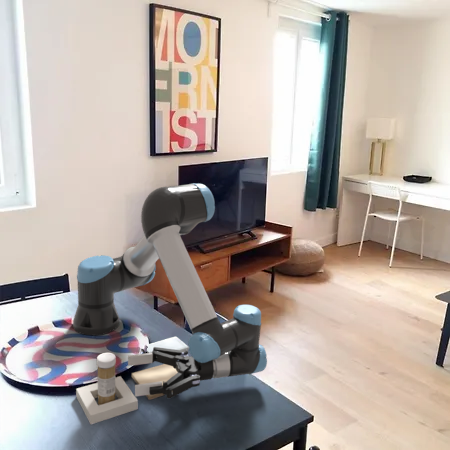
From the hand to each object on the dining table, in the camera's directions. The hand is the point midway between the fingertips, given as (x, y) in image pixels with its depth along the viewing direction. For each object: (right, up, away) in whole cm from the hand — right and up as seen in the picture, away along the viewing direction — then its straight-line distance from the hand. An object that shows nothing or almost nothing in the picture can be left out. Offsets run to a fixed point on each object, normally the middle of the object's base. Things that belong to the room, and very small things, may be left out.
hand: (131, 374), depth 118 cm
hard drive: (+5, -2, +28) cm, 28 cm away
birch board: (+6, -5, +11) cm, 13 cm away
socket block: (-6, -7, +1) cm, 10 cm away
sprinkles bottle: (-6, -8, +1) cm, 10 cm away
